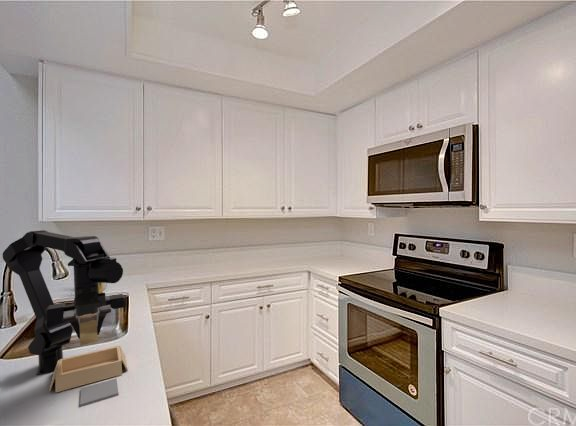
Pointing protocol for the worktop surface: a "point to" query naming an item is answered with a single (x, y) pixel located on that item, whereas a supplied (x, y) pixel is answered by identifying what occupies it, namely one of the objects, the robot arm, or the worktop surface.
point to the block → (88, 329)
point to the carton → (88, 368)
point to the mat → (98, 392)
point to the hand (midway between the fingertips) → (89, 336)
